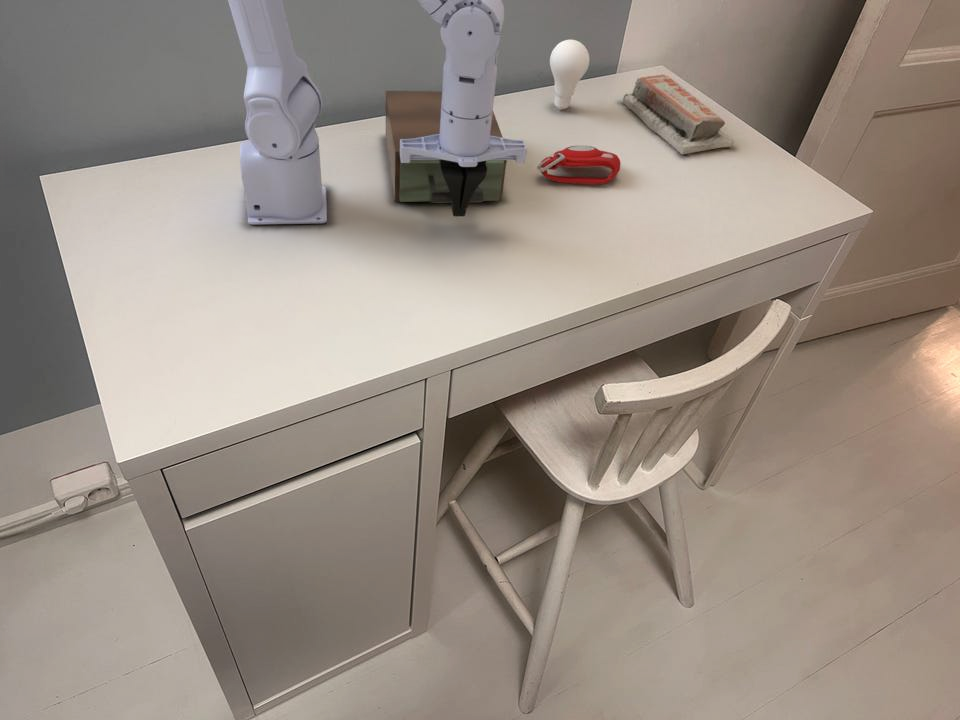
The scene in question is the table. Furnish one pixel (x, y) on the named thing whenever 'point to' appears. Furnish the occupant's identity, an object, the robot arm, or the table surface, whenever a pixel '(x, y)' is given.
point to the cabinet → (416, 126)
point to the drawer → (444, 182)
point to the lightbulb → (567, 69)
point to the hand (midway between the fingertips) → (458, 212)
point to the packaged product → (676, 115)
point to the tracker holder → (580, 164)
